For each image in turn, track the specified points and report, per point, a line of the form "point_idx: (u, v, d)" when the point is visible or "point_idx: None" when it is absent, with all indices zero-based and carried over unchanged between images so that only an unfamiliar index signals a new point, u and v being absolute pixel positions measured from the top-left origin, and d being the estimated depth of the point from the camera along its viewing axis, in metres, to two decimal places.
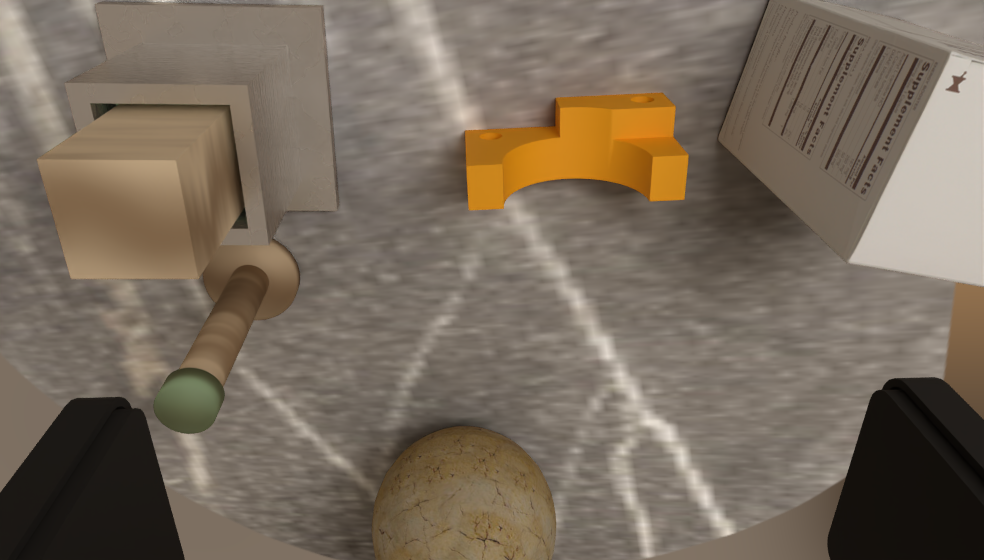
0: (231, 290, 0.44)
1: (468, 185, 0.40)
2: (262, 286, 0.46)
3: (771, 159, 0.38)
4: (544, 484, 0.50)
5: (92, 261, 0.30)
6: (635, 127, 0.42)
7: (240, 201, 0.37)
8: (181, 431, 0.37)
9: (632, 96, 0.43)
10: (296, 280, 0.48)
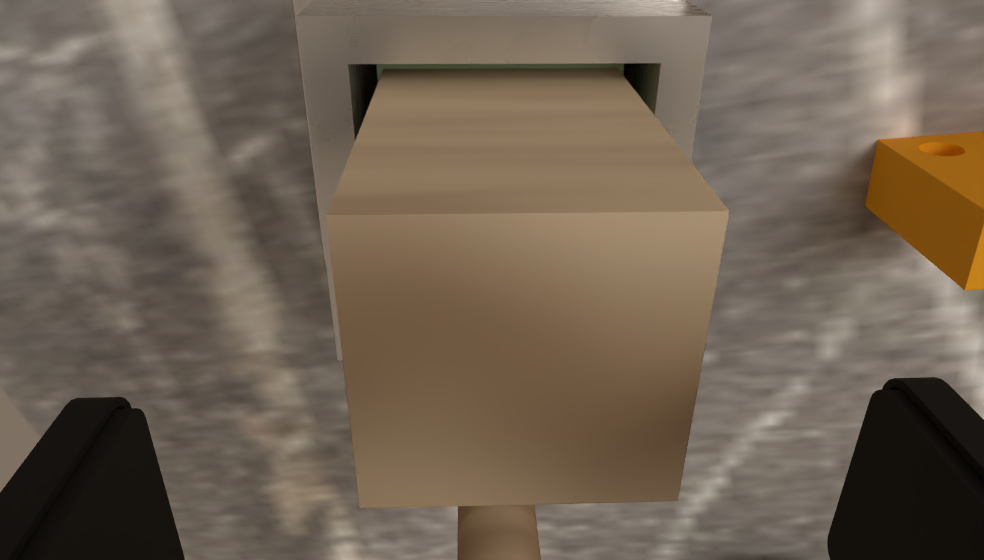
0: None
1: (979, 246, 0.21)
2: None
3: None
4: None
5: (421, 469, 0.11)
6: None
7: None
8: None
9: None
10: None
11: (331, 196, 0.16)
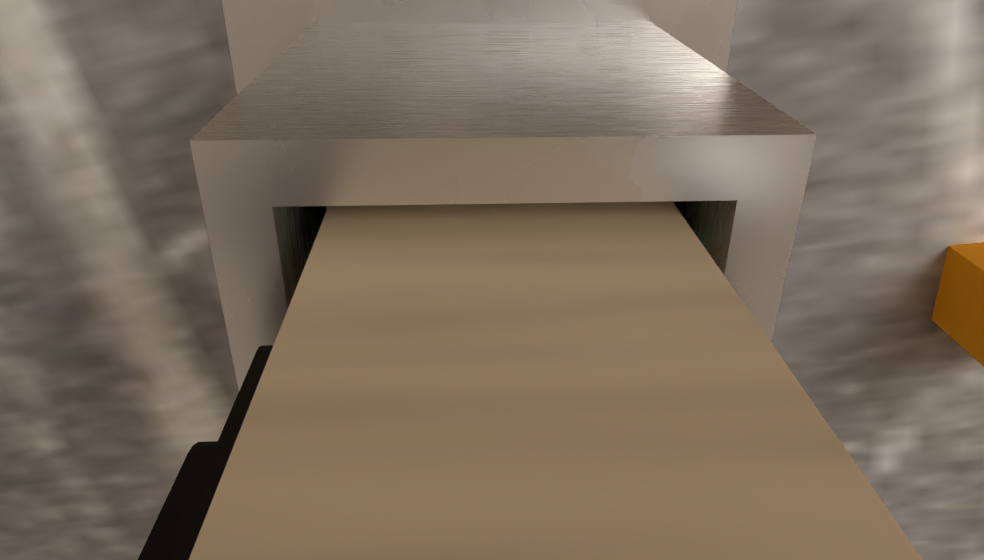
0: None
1: None
2: None
3: None
4: None
5: None
6: None
7: None
8: None
9: None
10: None
11: None
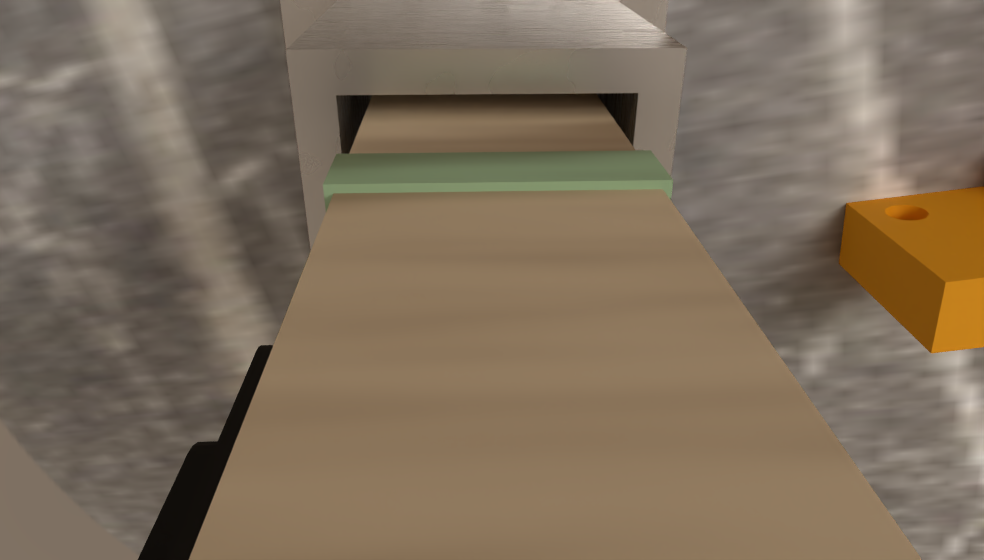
0: None
1: (941, 313, 0.23)
2: None
3: None
4: None
5: None
6: None
7: None
8: None
9: None
10: None
11: (320, 222, 0.16)
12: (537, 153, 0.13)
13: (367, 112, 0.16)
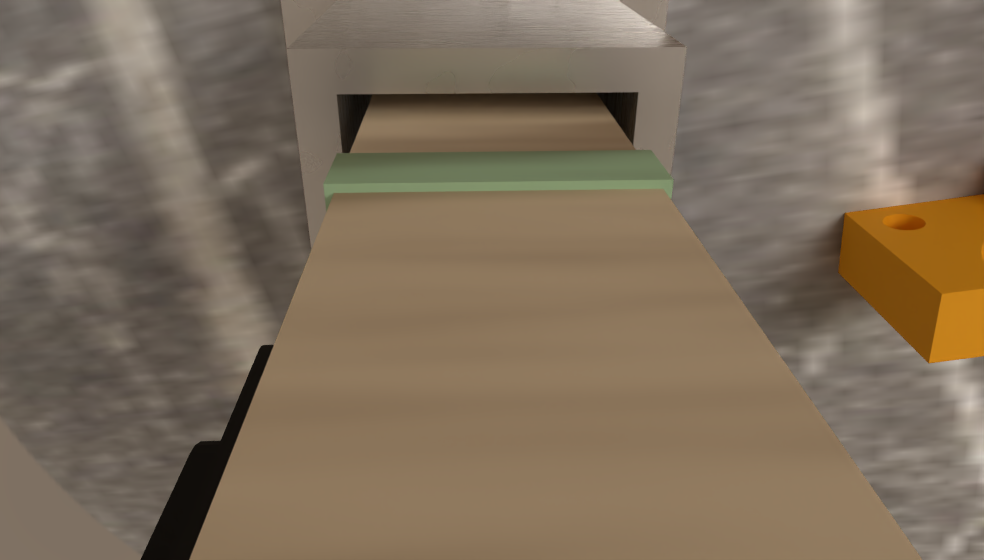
0: None
1: (938, 324, 0.23)
2: None
3: None
4: None
5: None
6: None
7: None
8: None
9: None
10: None
11: (321, 221, 0.16)
12: (537, 153, 0.13)
13: (367, 112, 0.16)
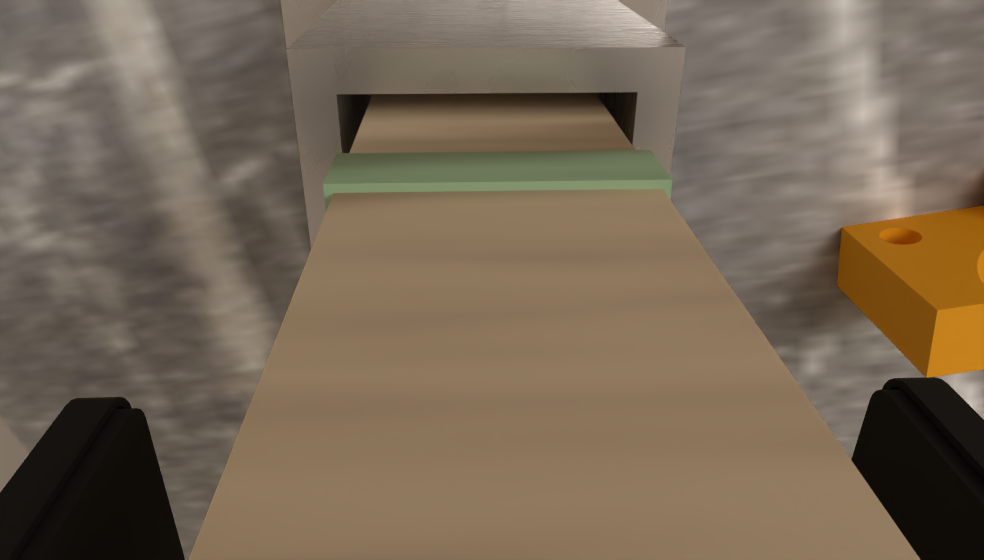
0: None
1: (934, 340, 0.23)
2: None
3: None
4: None
5: None
6: None
7: None
8: None
9: None
10: None
11: (320, 220, 0.16)
12: (537, 153, 0.13)
13: (367, 112, 0.16)
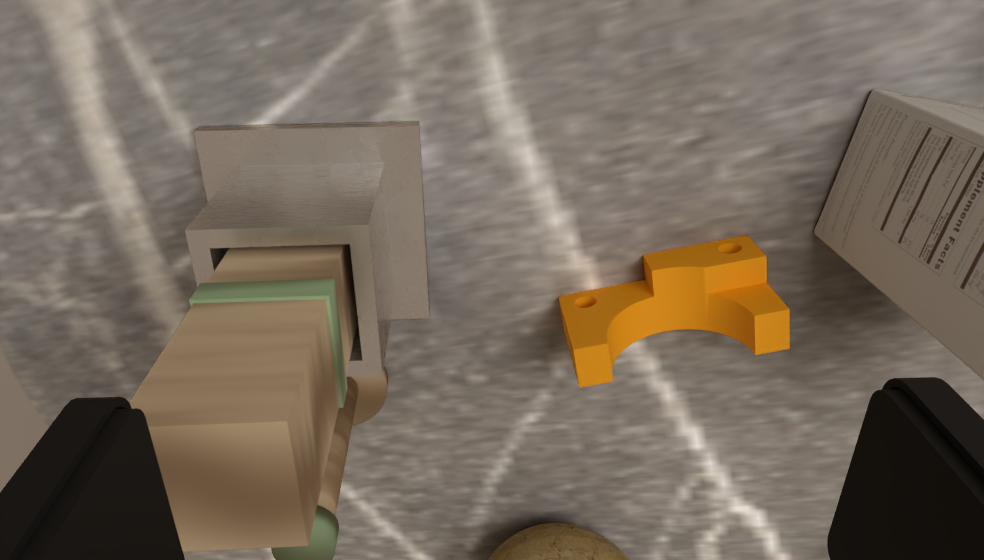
0: None
1: (577, 366, 0.41)
2: (354, 396, 0.46)
3: (886, 265, 0.38)
4: None
5: None
6: (728, 280, 0.43)
7: (335, 404, 0.31)
8: None
9: (718, 245, 0.44)
10: (385, 386, 0.47)
11: None
12: (285, 281, 0.30)
13: (226, 253, 0.33)
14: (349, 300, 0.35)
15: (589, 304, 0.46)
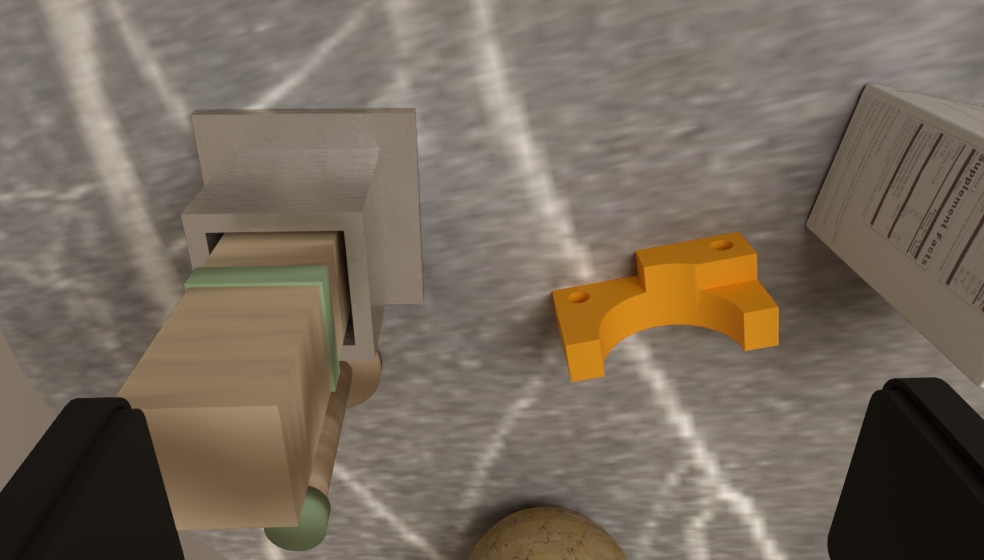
0: None
1: (569, 361, 0.42)
2: (348, 379, 0.46)
3: (875, 259, 0.38)
4: None
5: None
6: (719, 276, 0.43)
7: (327, 389, 0.31)
8: (290, 549, 0.37)
9: (710, 241, 0.45)
10: (379, 370, 0.48)
11: None
12: (279, 266, 0.31)
13: (222, 238, 0.34)
14: (343, 286, 0.36)
15: (582, 299, 0.46)
